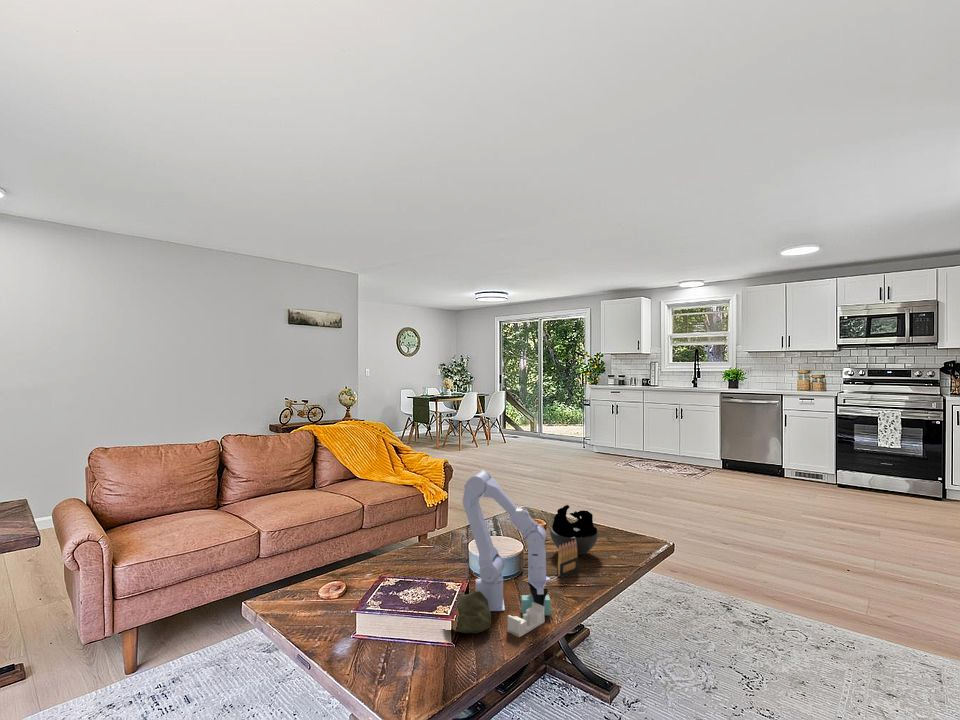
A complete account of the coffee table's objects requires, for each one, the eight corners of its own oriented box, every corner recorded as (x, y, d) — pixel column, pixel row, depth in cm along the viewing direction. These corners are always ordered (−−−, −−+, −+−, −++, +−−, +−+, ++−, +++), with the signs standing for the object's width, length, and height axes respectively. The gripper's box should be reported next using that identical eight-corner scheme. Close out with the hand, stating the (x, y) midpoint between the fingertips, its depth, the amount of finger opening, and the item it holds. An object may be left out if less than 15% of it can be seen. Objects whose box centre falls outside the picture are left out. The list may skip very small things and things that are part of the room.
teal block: (522, 615, 166) (522, 600, 166) (521, 610, 169) (521, 595, 169) (550, 615, 166) (550, 600, 166) (548, 610, 169) (548, 595, 169)
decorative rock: (439, 643, 152) (435, 610, 152) (450, 613, 168) (446, 583, 167) (489, 642, 150) (486, 608, 150) (495, 611, 166) (492, 581, 165)
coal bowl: (599, 564, 206) (599, 517, 206) (549, 561, 209) (549, 515, 209) (596, 546, 226) (596, 503, 226) (550, 544, 229) (550, 501, 229)
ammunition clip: (560, 577, 194) (560, 545, 194) (556, 576, 196) (556, 544, 196) (578, 570, 201) (578, 539, 201) (574, 568, 203) (574, 537, 203)
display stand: (519, 637, 153) (519, 621, 153) (507, 631, 156) (507, 615, 156) (544, 621, 162) (544, 606, 161) (533, 616, 165) (533, 601, 165)
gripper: (552, 573, 160) (554, 617, 160) (546, 556, 175) (547, 596, 175) (530, 574, 160) (531, 618, 160) (525, 556, 175) (526, 597, 175)
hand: (538, 607), depth 168 cm, fingers open, 4 cm apart
